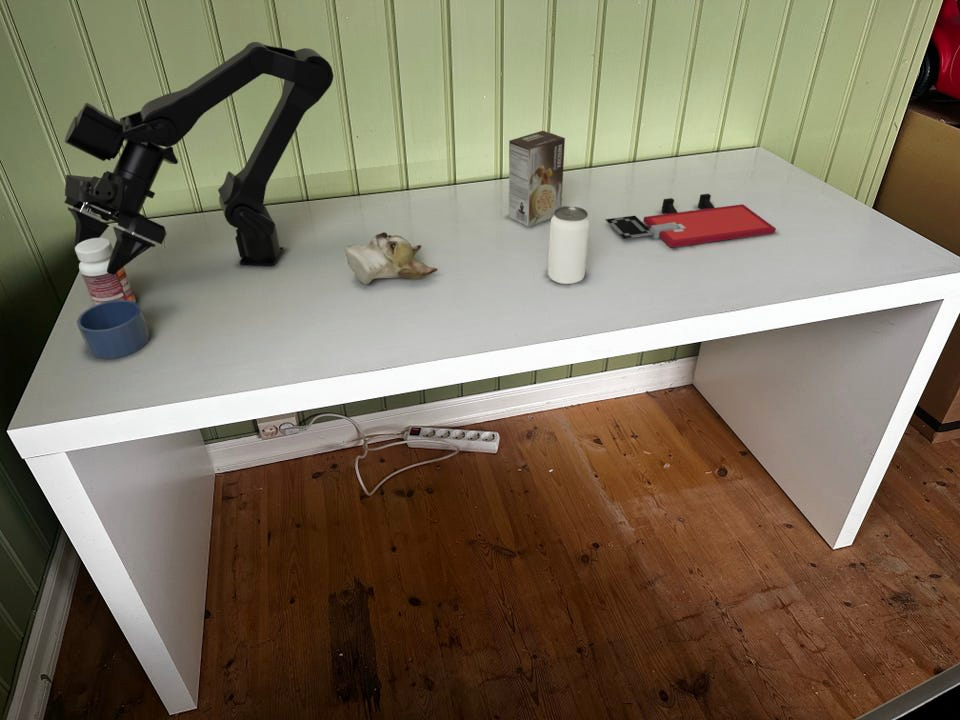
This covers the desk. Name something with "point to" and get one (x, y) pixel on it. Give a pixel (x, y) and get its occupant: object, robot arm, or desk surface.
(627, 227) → the red board with handle
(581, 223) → the can
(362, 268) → the ceramic sculpture
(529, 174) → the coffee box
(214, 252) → the desk surface
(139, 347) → the cup
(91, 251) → the pill bottle
